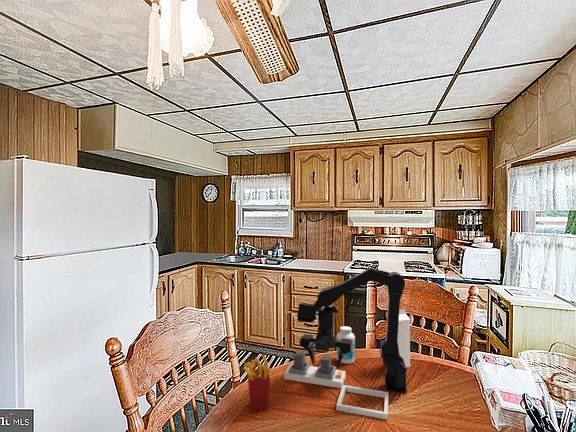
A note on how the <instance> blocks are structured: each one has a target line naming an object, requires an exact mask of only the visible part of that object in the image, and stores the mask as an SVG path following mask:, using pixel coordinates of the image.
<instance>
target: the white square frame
mask: <svg viewBox="0 0 576 432" xmlns="http://www.w3.org/2000/svg"><path fill="white" fill-rule="evenodd" d="M340 389H341V390H340V391H339V392H340V394H339V396H338V398H337V402H336V407H335V410H336V411H340V412H345V413H349V414H355V415H360V416H366V417H371V418H378V419H383V420H388V412H389V392H388V391H382V390H376V389H372V388H365V387H359V386H358V387H357V386H351V385H346V384H343V386H342V388H340ZM346 392H348V393H353V394H354V393H355V394H358V395H359V394H360V395H366V396H372V397H377V398H383V399H384V404H383V405H384V407H383V411H380V410H375V409H371V408H363V407H358V406H352V405H347V404H343V401H344V397H345V394H346Z"/></svg>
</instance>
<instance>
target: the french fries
mask: <svg viewBox="0 0 576 432" xmlns="http://www.w3.org/2000/svg"><path fill="white" fill-rule="evenodd" d="M261 356H262V360H263V362H264V363H261V361H260V359H259V358H258V357H256V356H255V358H254V359H251V361H247V362H245V363H244V364H243V365H244V367H243V370H244V371H245V372H246V373H247V381H248V382H247V384H248V396H249V406H250V412H251V413H255V412H263V411H268V405H269V398H270V397H269V396H270V386H271V385H270V384H271V377H270V375H269V373H270V371H271V369H272V368H271V367H268V360H267V357H266V355H265V354H263V355H261ZM256 368H257V369H256Z"/></svg>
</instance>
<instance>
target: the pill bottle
mask: <svg viewBox="0 0 576 432" xmlns="http://www.w3.org/2000/svg"><path fill="white" fill-rule="evenodd" d="M339 330H340V332H338V333H337V334H336V341H341V339H351V340H352V342H353V347H352V350H351V352H349V353H347V354H344V355H343V357H342V360H341V363H340V364H345V365H346V364H347V365H348V364H349V365H350V364H353V363H354V362H355V361H356V357H355V356H356V348H355V347H356V336H355V334H354V333H353V332H352V327H350V326H344V325H343V326H340V327H339ZM339 350H340V349H339V347H336V360H337V361H338V356H339Z"/></svg>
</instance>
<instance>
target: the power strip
mask: <svg viewBox="0 0 576 432" xmlns="http://www.w3.org/2000/svg"><path fill="white" fill-rule="evenodd" d="M283 376H284V377H283V378H284V380H290V381H294V382H295V381H296V382H299V383H300V382H301V383H306V384H314V385H320V386H325V387H332V388H338V389H342V386H343V385H344V382H345V379H346V370H339V369H337V366H334V365H331V373H330V374H325V373H321V363H320V364H319V365H318V366H315V365H311V362H306V361H305V368H304V370H299V369H294V361H293V362H291V364H290V365H289V366H288V367H287V369H286V371H285V372H284V373H283Z"/></svg>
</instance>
